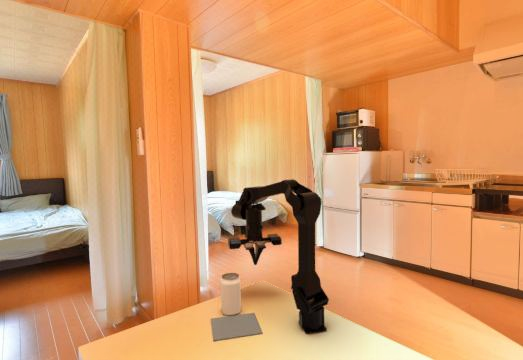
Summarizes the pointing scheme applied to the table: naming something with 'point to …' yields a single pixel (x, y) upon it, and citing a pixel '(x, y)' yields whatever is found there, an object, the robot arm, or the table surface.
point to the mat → (235, 326)
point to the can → (230, 294)
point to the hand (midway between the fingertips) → (255, 264)
